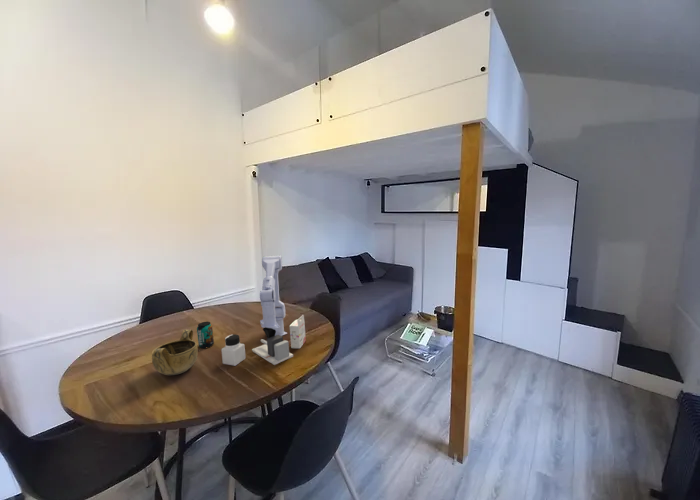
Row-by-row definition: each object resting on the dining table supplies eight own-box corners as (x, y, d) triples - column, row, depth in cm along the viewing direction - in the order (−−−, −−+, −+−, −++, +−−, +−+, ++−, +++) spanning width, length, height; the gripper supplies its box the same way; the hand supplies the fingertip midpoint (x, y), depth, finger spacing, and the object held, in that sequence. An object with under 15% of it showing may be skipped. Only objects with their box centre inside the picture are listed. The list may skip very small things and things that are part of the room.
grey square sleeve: (267, 354, 133) (266, 338, 132) (279, 349, 137) (278, 334, 136) (272, 356, 130) (271, 341, 129) (283, 351, 134) (282, 336, 134)
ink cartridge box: (297, 340, 150) (295, 313, 148) (306, 341, 149) (304, 313, 147) (290, 348, 141) (288, 319, 139) (299, 348, 140) (298, 320, 138)
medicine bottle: (246, 358, 133) (243, 333, 131) (235, 366, 126) (232, 340, 125) (233, 356, 135) (231, 332, 134) (222, 363, 129) (219, 338, 127)
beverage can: (216, 345, 147) (214, 323, 146) (201, 350, 142) (199, 327, 141) (210, 341, 152) (208, 320, 151) (196, 346, 147) (194, 324, 146)
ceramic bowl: (181, 386, 113) (177, 350, 111) (139, 387, 113) (134, 351, 111) (209, 357, 135) (206, 327, 133) (174, 358, 135) (170, 328, 133)
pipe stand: (252, 351, 140) (250, 335, 139) (270, 343, 147) (269, 329, 146) (274, 365, 126) (273, 347, 125) (293, 356, 133) (292, 340, 132)
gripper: (253, 313, 136) (255, 340, 138) (269, 320, 126) (271, 349, 128) (266, 309, 141) (268, 335, 143) (283, 316, 131) (285, 344, 133)
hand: (271, 341), depth 136 cm, fingers closed
